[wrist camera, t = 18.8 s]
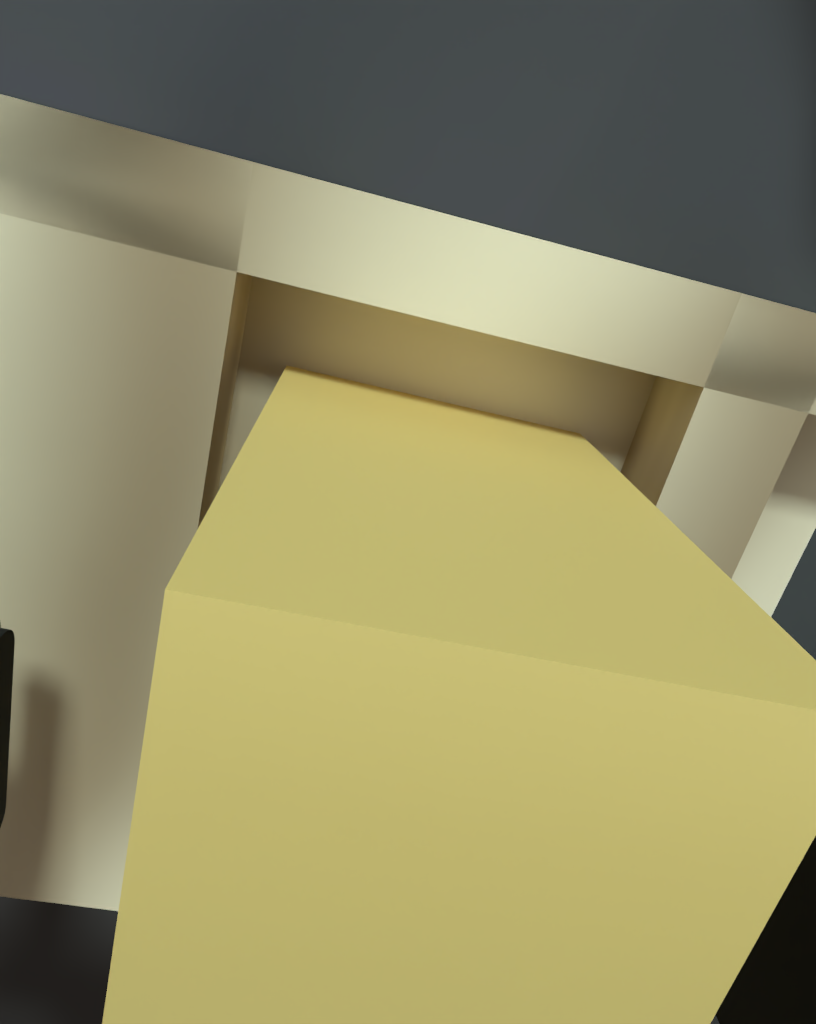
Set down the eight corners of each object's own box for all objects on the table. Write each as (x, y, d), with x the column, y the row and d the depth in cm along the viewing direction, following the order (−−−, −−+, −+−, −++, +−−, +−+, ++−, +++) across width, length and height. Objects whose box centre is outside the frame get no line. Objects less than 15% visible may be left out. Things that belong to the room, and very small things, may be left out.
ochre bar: (287, 365, 11) (165, 589, 4) (580, 433, 11) (880, 721, 5) (205, 798, 13) (54, 1347, 7) (445, 833, 14) (518, 1367, 7)
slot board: (-533, 700, 13) (-724, 805, 11) (-764, -110, 9) (-1163, -219, 6) (611, 867, 16) (651, 977, 14) (867, 328, 12) (987, 359, 10)
